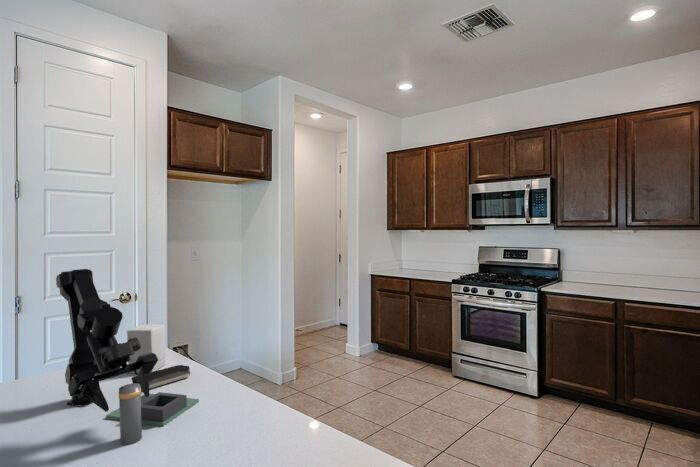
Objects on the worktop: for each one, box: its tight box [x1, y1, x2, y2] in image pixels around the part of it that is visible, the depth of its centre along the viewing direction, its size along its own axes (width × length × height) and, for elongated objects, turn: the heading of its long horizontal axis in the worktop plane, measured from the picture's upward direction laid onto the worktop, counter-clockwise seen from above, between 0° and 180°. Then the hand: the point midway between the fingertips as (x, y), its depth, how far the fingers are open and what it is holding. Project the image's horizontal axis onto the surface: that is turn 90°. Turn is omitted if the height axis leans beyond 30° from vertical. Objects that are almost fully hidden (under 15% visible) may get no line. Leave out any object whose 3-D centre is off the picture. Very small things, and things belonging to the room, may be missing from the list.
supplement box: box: [126, 323, 167, 374], centre depth 140 cm, size 9×9×15 cm
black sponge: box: [130, 364, 191, 390], centre depth 128 cm, size 16×8×4 cm, turn 137°
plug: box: [118, 382, 143, 446], centre depth 93 cm, size 5×5×12 cm
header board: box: [105, 391, 200, 427], centre depth 108 cm, size 18×14×4 cm
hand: (128, 403), depth 93 cm, fingers open, 9 cm apart
